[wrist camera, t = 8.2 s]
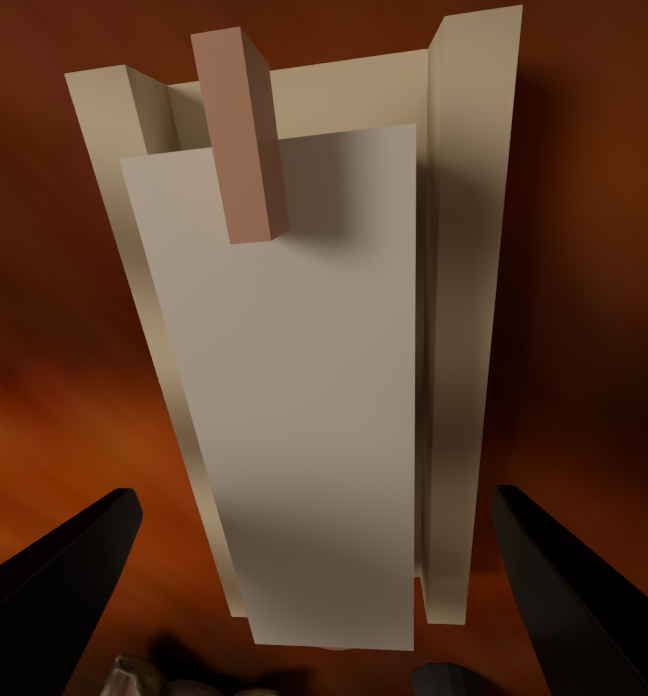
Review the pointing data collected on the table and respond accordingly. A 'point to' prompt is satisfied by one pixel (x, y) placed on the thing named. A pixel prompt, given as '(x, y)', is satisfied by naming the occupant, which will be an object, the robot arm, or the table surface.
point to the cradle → (431, 246)
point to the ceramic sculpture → (160, 682)
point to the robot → (446, 681)
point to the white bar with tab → (294, 350)
